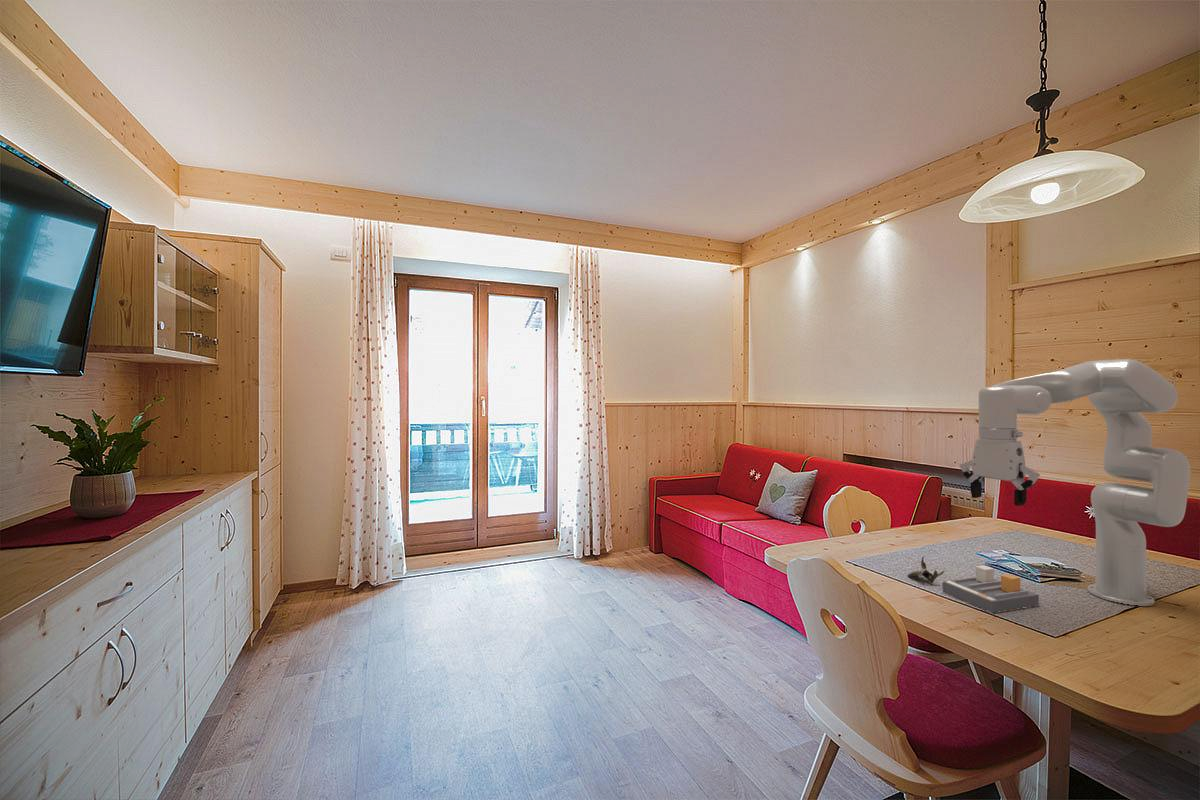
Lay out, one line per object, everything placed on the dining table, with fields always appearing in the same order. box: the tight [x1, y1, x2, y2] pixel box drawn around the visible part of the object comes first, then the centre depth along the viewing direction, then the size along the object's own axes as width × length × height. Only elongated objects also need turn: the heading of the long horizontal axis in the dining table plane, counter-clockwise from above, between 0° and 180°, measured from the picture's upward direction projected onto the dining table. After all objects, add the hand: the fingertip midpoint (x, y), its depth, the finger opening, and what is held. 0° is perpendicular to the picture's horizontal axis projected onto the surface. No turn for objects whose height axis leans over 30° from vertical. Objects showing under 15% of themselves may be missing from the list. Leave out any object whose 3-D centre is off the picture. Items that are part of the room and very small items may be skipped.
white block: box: [975, 564, 995, 583], centre depth 140 cm, size 3×3×4 cm
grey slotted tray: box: [942, 576, 1040, 613], centre depth 136 cm, size 16×14×4 cm
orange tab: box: [1000, 573, 1021, 592], centre depth 133 cm, size 3×3×4 cm
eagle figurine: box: [907, 556, 945, 586], centre depth 149 cm, size 8×7×9 cm
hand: (997, 501), depth 125 cm, fingers open, 9 cm apart
